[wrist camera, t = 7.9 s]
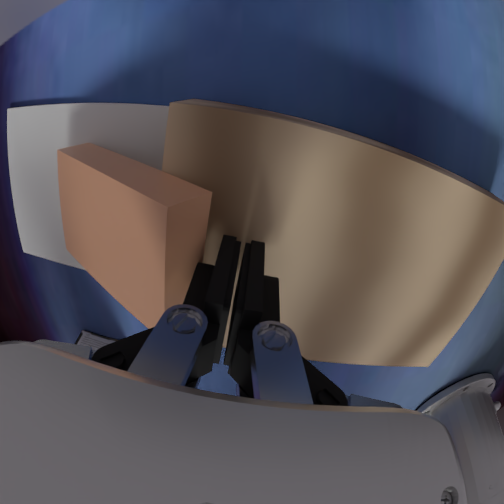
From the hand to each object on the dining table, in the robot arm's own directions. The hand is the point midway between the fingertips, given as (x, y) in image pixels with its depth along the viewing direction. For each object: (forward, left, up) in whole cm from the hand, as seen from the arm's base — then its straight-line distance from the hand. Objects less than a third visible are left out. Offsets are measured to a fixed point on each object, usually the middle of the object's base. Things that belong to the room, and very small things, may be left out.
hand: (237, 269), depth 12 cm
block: (+5, 0, -2) cm, 6 cm away
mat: (+11, 0, -4) cm, 11 cm away
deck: (-5, 0, -4) cm, 7 cm away
